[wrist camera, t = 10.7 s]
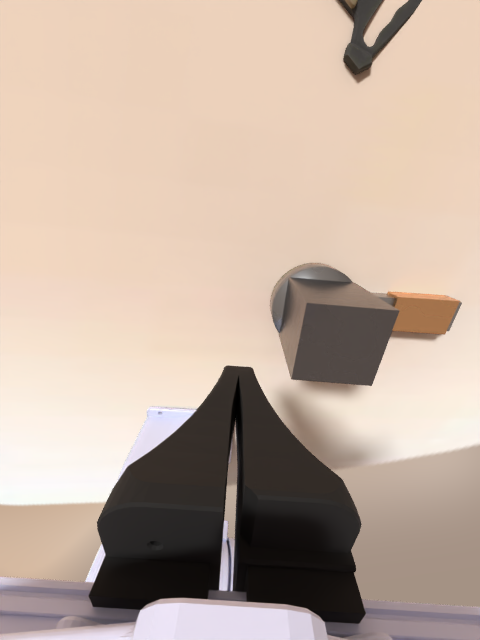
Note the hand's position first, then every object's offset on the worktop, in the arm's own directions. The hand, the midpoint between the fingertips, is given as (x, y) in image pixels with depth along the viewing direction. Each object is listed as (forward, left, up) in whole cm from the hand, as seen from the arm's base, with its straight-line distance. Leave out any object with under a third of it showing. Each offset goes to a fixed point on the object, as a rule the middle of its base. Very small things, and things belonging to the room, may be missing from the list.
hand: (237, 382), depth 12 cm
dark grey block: (+6, +1, -9) cm, 11 cm away
